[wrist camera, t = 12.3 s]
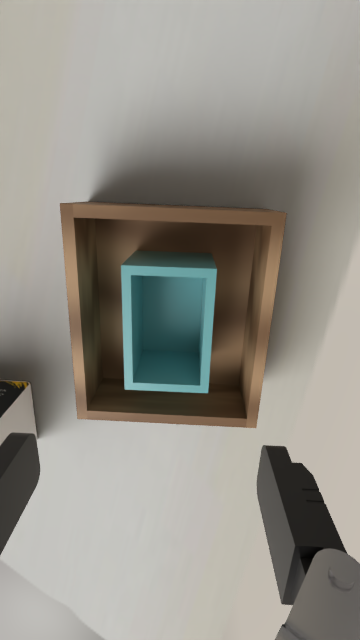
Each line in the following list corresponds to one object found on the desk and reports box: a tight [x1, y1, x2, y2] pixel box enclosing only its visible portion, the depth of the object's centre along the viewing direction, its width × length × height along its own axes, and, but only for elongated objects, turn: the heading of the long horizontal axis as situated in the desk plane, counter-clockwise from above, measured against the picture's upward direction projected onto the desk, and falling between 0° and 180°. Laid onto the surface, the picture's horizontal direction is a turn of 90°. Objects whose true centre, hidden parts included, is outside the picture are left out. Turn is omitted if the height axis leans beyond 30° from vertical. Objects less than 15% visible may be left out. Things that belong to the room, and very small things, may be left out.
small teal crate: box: [121, 251, 217, 393], centre depth 25 cm, size 9×6×6 cm, turn 178°
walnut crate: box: [60, 202, 287, 428], centre depth 26 cm, size 16×14×6 cm
